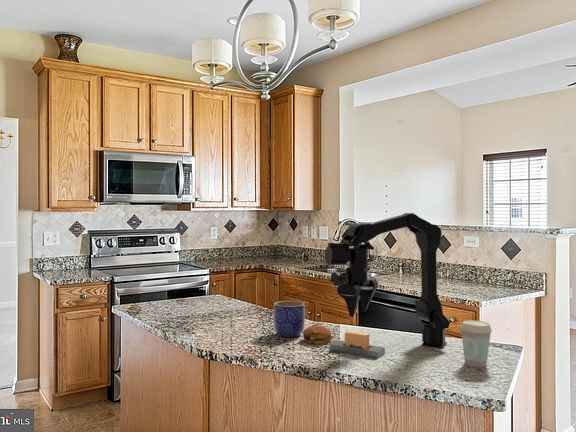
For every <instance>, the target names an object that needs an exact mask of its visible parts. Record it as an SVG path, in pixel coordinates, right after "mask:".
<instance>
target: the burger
mask: <svg viewBox="0 0 576 432" xmlns="http://www.w3.org/2000/svg"><path fill="white" fill-rule="evenodd" d="M302 334H303V339H304V340H305V342H307V343H308V344H312V343H313V344H314V345H316V346H317V345H327V344H329V343H330V342H331V341H332V339H333V335H332V331H331V330H330V329H329V328H327V327H325V326H320V325H317V326H316V325H313V326H312V325H311V326H309V327H307V328H304V329H303V331H302Z"/></svg>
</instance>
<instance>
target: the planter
mask: <svg viewBox="0 0 576 432" xmlns="http://www.w3.org/2000/svg"><path fill="white" fill-rule="evenodd" d="M305 305H306V304H305V303H304V302H302V301H299V300H280V301H276V302H274V303H273V326H274V331H275V332H276V333H277V335H278V336H280V337H282V338H295V337H298V336H301V334H303V331H304V330H305V321H306V320H305V319H306V310H305V309H306V307H305Z"/></svg>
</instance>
